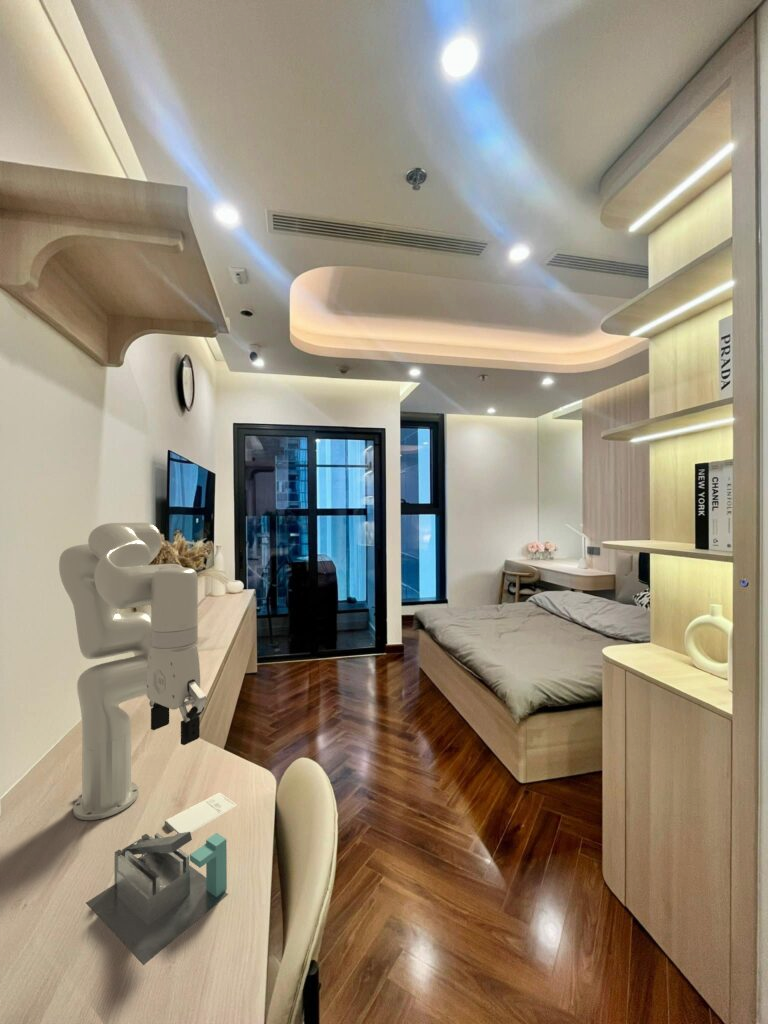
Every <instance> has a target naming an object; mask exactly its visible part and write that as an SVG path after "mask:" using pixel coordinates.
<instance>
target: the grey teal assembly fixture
mask: <svg viewBox="0 0 768 1024" xmlns="http://www.w3.org/2000/svg"><path fill="white" fill-rule="evenodd" d="M163 837H164V836H163V835H161V834H160V833H158V832H156V833H155V834H154V837H153V836H150V835H149V834H148V833H144V834H143V835H141V839H142V841H143V840H149V839H156V838H163ZM228 895H229V894H228V892H227V891H226V890H225V891H224V892H222V893H221V894H220V895H219V896H218V897H215V896H214V895H213V894H211V893H210V892H209V891H207V890H206V875H204V874H202V873H201V872H199V871H198V870H197V869H195V868H194V867H192V865H190V854H188V853H186V852H185V851H183V849H180V848H179V849H177V850H176V851H174V852H171V853H162V854H160V852H154V853H145V854H141V856H140V857H136V856H135V855H133V854H132V853H130V852H129V851H126V852H125V857H124V856H123V852H122V849H118V850H116V851H114V884H113V885H111V886H110V887H108V888H106V889H105V890H104V891H101V892H100V893H99V894H97V895H96V896H94V897H93V898H91V899H89V900H88V901H86V902H85V903H86V905H87V906H88V907H89V908H90V909H91V910H92V911H93V912H94V913H95V914H96V915H97V916H98V917H99V919H101V920H102V922H103V923H104V924H105V925H106V926H107V927H108V928H109V929H110V930H111V931H112V932H113V933H114V935H115V936H116V937H118V939H119V940H120V941H121V943H123V944H124V946H126V948H127V949H128V950H129V951H130V952H131V953H132V954H133V955H134V956H135V957H136V958H137V959H138V960H139V962H140V963H141V964H142V965H146V964H147V963H148V962H149V961H150V960H151V959H153V958H154V957H155V956H156V955H158V954H159V953H160V952H161V951H162V950H163V949H164V948H166V947H167V946H169V944H171V943H172V942H173V941H174V940H176V939H177V938H178V937H179V936H180V935H181V934H183V933H184V932H186V930H187V929H189V928H190V927H191V926H192V925H193V924H195V923H196V922H197V921H198V920H199V919H201V918H202V917H203V916H204V915H206V913H208V912H209V911H210V910H211V909H213V908H214V907H215V906H216V905H218V903H220V902H221V901H223V900H224V899H225V898H226V897H227V896H228Z"/></svg>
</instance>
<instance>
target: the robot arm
mask: <svg viewBox="0 0 768 1024" xmlns="http://www.w3.org/2000/svg"><path fill="white" fill-rule="evenodd" d="M162 540H163V538H162V534H161V533H160V530H159V529H158V527H156V526H155V525H154V524H152V523H149V522H109V523H104V524H103V523H102V524H101V525H98V526H96V527H95V528H94V529H92V531H91V532H90V534H89V536H88V540H87V543H85V544H78V545H73V546H71V547H68V548H66V549H65V550H63V551H62V553H61V555H60V557H59V562H58V571H59V577H60V579H61V582H62V586H63V587H64V590H65V592H66V593H67V595H68V597H69V599H70V601H71V603H72V607H73V610H74V616H75V617H74V618H75V625H76V633H77V639H78V646H79V650H80V652H81V654H82V657H84V658H85V659H86V660H87V659H88V660H99V659H105V658H109V657H113V656H119V655H124V654H129V653H133V655H134V656H131V657H126V658H121V659H117V660H112V661H107V662H102V663H100V664H96V665H93V666H91V667H89V668H87V669H85V670H84V671H83V672H82V673H81V674H80V675H79V677H78V679H77V683H76V689H77V690H76V691H77V692H76V693H77V696H78V697H77V698H78V702H79V703H78V704H79V707H80V713H81V716H80V717H81V739H82V740H81V741H82V742H81V780H82V781H81V797H79V798H78V799H77V800H76V802H75V803H74V806H73V808H72V809H73V815H74V817H76V818H77V819H79V820H82V821H96V820H97V821H98V820H101V819H102V820H103V819H104V818H105V819H106V818H109V817H111V816H115V815H116V814H119V813H120V812H122V811H124V810H125V809H127V808H129V807H130V806H131V805H132V804H133V803H134V802H135V801H136V800H137V799H138V797H139V794H140V793H139V792H140V791H139V790H140V788H139V786H138V784H137V783H135V782H132V720H131V716H130V715H129V713H127V711H125V710H124V709H123V708H121V707H120V704H122V703H124V702H128V701H130V700H133V699H137V698H140V697H143V696H146V697H147V699H148V700H149V703H148V704H149V707H150V729H151V730H152V731H156V730H159V729H160V728H163V727H165V726H169V724H170V710H172V711H173V710H178V709H179V712H180V714H181V717H182V720H181V721H180V744H181V745H182V746H186V745H188V744H191V743H192V742H194V741H196V740H198V739H199V738H200V731H201V730H200V726H201V725H200V722H201V721H200V720H201V719H200V717H202V715H203V711H204V710H205V705H206V702H207V699H208V697H207V695H206V694H205V693H204V692H203V690H202V689H201V669H200V659H199V657H200V656H199V651H198V650H199V649H198V641H199V640H198V639H199V638H198V637H199V636H198V635H199V634H198V633H199V632H198V631H199V629H198V623H199V620H198V619H199V617H198V616H199V615H198V614H199V613H198V611H199V609H198V608H199V606H198V603H199V599H198V598H199V597H198V596H199V595H198V594H199V588H198V587H199V586H198V585H199V582H198V581H199V580H198V573H197V571H196V570H195V569H193V568H191V567H184V566H182V565H181V564H178V563H162V564H160V563H159V564H151V562H153V561H154V560H155V558H156V557H157V556H158V554H159V553H160V551H161V548H162ZM145 606H151V608H150V609H151V611H150V614H151V616H150V615H149V614H148V613H146V612H142V611H136V612H127V613H122V614H120V613H119V611H118V610H126V609H132V608H140V607H145ZM188 706H191V708H190V709H189V711H188V709H187V707H188Z"/></svg>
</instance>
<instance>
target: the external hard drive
mask: <svg viewBox="0 0 768 1024" xmlns="http://www.w3.org/2000/svg"><path fill="white" fill-rule="evenodd" d="M237 806H238V804H237V803H236V802H234V801H233V800H231V799H230V798H228V797H227V796H226V795H224V794H223V793H222V792H217V793H216V794H214V795H211V796H209V797H208V798H206V799H203V800H202V801H200V802H198V803H196V804H194V805H192V806H190V807H188V808H187V809H184V810H182V811H181V812H179V813H177V814H175V815H173V816H171V817H168V818H167V819H165V820H164V826H165V827H166V828H167V829H168V830H169V831H170V832H172V833H173V832H174V831H176V832H177V834H178V833H185V832H190V833H191V834H192V833H194V832H195V831H196V830H199V829H200V828H202V827H203V826H205V825H207V824H209V823H210V822H212V821H213V820H215V819H217V818H218V817H220V816H221V815H223V814H225V813H226V812H229V811H230V810H232V809H234V808H235V807H237Z"/></svg>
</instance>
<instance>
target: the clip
mask: <svg viewBox="0 0 768 1024" xmlns="http://www.w3.org/2000/svg"><path fill="white" fill-rule="evenodd" d="M227 850H228V849H227V838H226V837H224V836H222V835H221V834H219V833H218V832H215V833H214V834H213V835H211V836H209V837H208V838H207V839H206V840H205V843H204V844H203V845H201V846H199V848H197V849H196V850H194V851H193V852H191V853H190V854H189V862H191V863H193V864H194V865H195V866H197V867H198V868H199V869H200V868H202V867H203V866H205V865H206V866H205V867H206V868H205V869H206V870H205V871H206V874H205V877H206V890H207V891H209V892H210V893H211V894H213V895H214V896H215V897H218V896H219V895H220V894H221V893H222V892H224V891H225V892H226V891H227V889H228V888H227V887H228V884H227V883H228V882H227V881H228V880H227V879H228V878H227V873H228V870H227V869H228V868H227V861H228V860H227V853H228V852H227Z"/></svg>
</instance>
